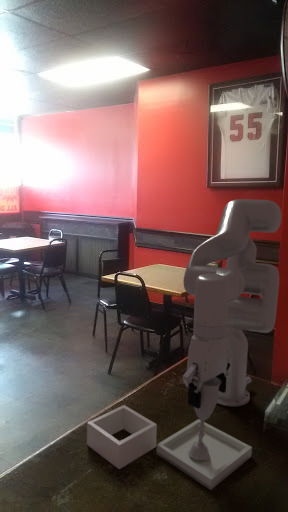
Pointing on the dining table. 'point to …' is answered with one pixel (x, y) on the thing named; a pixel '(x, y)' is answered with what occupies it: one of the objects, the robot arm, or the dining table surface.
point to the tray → (220, 450)
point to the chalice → (204, 415)
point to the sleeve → (128, 447)
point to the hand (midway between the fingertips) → (207, 398)
